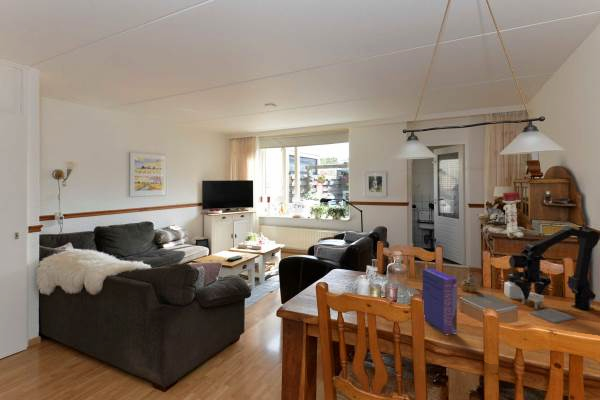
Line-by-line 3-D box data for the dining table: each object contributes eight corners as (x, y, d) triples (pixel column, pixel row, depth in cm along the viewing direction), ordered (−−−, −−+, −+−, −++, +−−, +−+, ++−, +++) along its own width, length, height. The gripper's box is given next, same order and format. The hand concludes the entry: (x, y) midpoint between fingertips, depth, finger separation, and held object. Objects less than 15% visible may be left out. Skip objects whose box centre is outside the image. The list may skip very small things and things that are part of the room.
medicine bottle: (524, 299, 171) (524, 277, 170) (509, 298, 172) (510, 277, 171) (518, 294, 178) (518, 273, 177) (504, 294, 179) (504, 273, 178)
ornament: (460, 291, 186) (460, 274, 185) (463, 288, 190) (463, 271, 190) (475, 294, 180) (475, 276, 180) (477, 291, 185) (478, 274, 184)
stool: (527, 302, 167) (528, 290, 167) (543, 307, 160) (544, 296, 159) (520, 303, 166) (521, 292, 165) (536, 309, 158) (537, 297, 158)
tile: (549, 309, 157) (549, 308, 157) (574, 318, 147) (574, 317, 147) (529, 313, 153) (529, 312, 153) (554, 323, 143) (554, 321, 143)
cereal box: (456, 334, 134) (457, 278, 133) (446, 335, 133) (447, 279, 132) (431, 317, 151) (431, 267, 150) (422, 318, 150) (422, 268, 149)
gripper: (530, 262, 172) (529, 290, 173) (505, 266, 166) (504, 295, 167) (552, 267, 162) (551, 297, 162) (526, 271, 156) (525, 302, 156)
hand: (532, 297), depth 162 cm, fingers open, 9 cm apart
